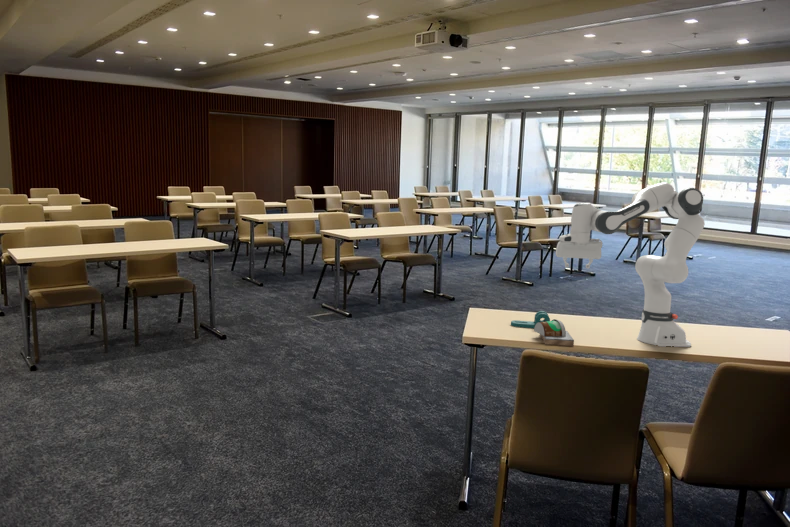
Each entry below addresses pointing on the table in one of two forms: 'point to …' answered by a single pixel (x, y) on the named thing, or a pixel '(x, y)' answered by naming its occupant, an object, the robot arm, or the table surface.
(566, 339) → the grey flat block
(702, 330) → the table surface
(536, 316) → the bracket
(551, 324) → the food container
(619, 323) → the table surface
